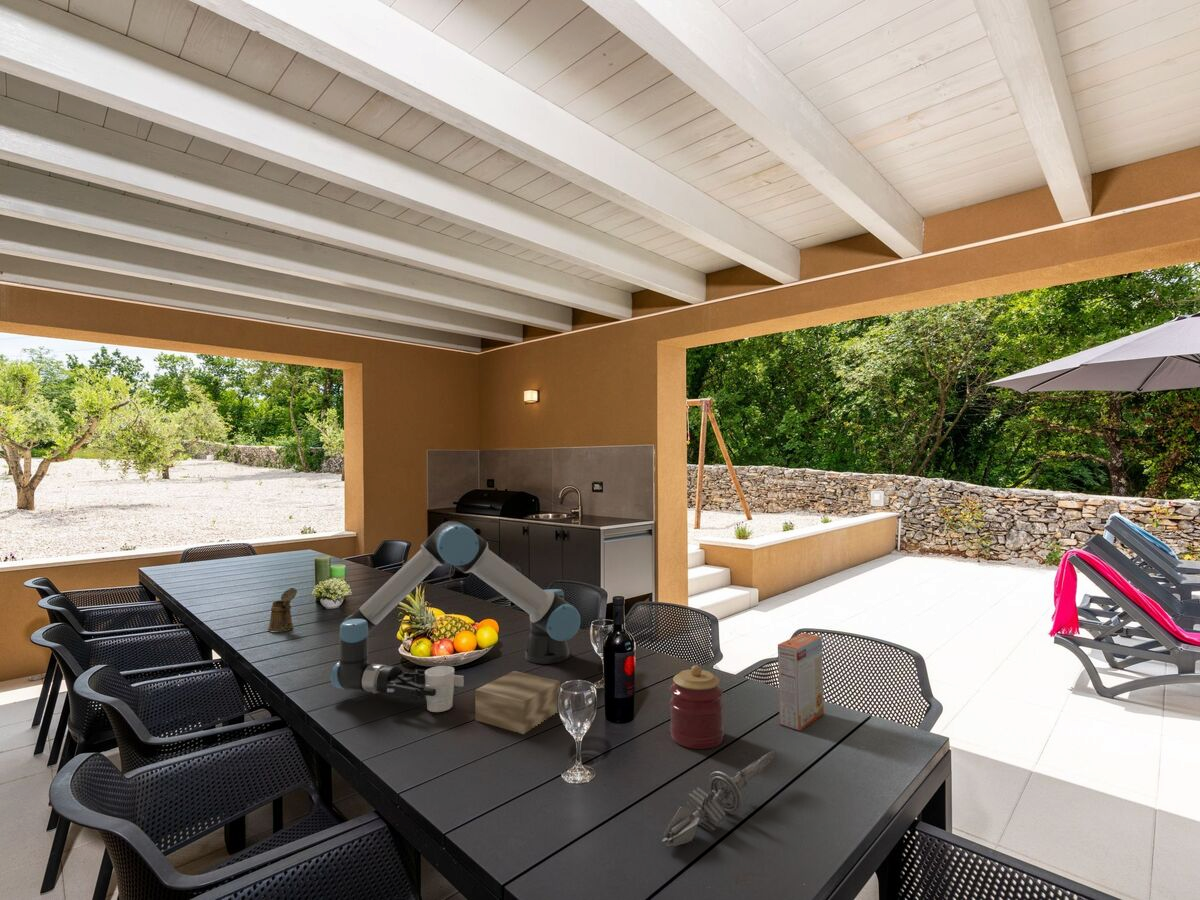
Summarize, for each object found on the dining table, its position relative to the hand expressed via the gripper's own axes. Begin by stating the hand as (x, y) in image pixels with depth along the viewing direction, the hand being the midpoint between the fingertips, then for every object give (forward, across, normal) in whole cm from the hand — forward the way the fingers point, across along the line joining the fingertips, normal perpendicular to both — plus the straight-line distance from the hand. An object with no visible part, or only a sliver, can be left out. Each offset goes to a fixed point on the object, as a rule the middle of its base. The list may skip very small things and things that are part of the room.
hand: (455, 686), depth 162 cm
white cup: (-5, 0, -6) cm, 8 cm away
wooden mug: (-107, -51, -7) cm, 119 cm away
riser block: (+18, -2, -7) cm, 19 cm away
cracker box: (+90, -19, -7) cm, 93 cm away
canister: (+65, -2, -7) cm, 65 cm away
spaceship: (+74, +28, -7) cm, 79 cm away
